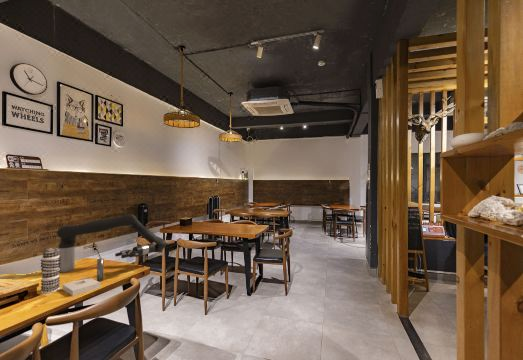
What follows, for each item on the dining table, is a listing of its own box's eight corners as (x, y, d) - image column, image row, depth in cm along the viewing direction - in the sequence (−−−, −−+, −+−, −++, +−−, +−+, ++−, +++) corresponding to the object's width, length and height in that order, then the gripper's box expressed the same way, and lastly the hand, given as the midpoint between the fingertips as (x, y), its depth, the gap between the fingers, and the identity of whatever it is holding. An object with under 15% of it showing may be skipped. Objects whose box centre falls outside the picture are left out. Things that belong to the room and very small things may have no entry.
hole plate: (62, 289, 147) (62, 284, 147) (88, 281, 159) (88, 277, 159) (72, 296, 138) (72, 290, 138) (100, 287, 150) (100, 282, 150)
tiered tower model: (59, 291, 144) (59, 249, 145) (38, 295, 139) (39, 251, 140) (61, 286, 152) (62, 245, 152) (42, 289, 147) (42, 247, 148)
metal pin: (95, 280, 160) (96, 259, 161) (101, 279, 163) (102, 258, 163) (98, 282, 158) (98, 260, 159) (104, 280, 161) (104, 259, 161)
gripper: (135, 244, 188) (113, 249, 174) (146, 246, 180) (123, 252, 166) (135, 254, 188) (113, 259, 174) (146, 256, 180) (123, 263, 166)
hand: (118, 255), depth 170 cm, fingers open, 8 cm apart
